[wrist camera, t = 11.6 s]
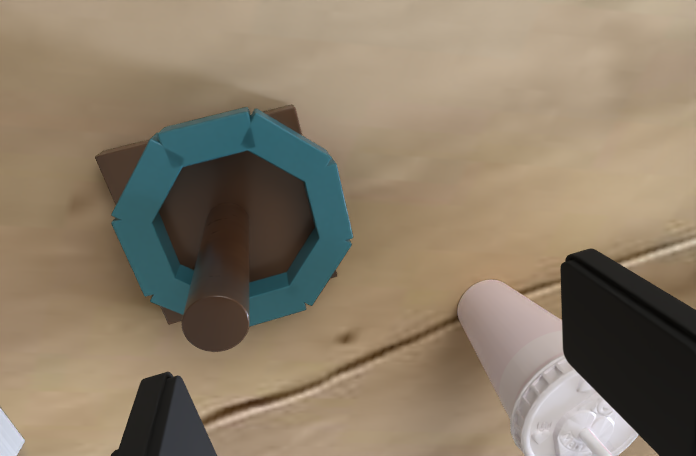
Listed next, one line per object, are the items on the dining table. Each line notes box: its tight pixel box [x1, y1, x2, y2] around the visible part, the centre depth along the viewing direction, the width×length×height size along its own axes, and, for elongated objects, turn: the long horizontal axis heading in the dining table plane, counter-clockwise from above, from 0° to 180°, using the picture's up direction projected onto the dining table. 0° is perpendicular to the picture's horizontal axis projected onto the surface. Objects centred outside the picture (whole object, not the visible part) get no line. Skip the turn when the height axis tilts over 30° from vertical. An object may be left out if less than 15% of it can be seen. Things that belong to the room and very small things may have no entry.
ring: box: [111, 107, 353, 327], centre depth 22 cm, size 10×10×2 cm
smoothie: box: [457, 280, 639, 456], centre depth 22 cm, size 6×6×14 cm
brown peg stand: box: [95, 105, 337, 352], centre depth 19 cm, size 9×9×10 cm
